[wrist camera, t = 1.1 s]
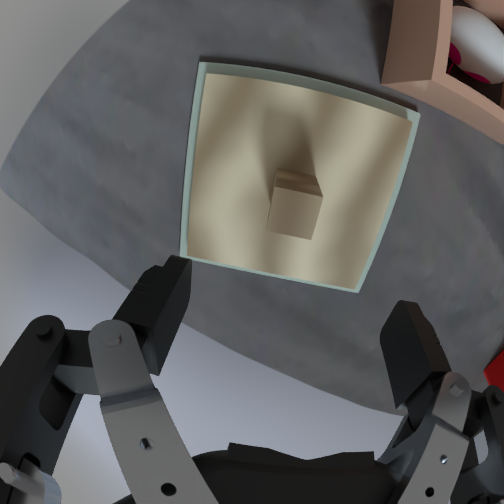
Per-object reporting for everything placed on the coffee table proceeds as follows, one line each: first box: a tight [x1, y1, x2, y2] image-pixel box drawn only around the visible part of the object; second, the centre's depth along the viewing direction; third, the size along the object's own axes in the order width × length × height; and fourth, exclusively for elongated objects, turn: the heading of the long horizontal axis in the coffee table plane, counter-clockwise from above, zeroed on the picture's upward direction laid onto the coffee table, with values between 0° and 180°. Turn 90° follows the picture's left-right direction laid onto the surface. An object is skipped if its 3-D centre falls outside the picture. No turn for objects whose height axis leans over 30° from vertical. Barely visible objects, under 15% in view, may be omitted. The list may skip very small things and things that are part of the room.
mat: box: [180, 62, 421, 293], centre depth 23 cm, size 18×18×1 cm
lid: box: [187, 73, 413, 290], centre depth 20 cm, size 16×16×6 cm
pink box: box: [380, 0, 504, 145], centre depth 11 cm, size 14×14×9 cm
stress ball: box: [447, 6, 504, 84], centre depth 13 cm, size 8×8×7 cm
